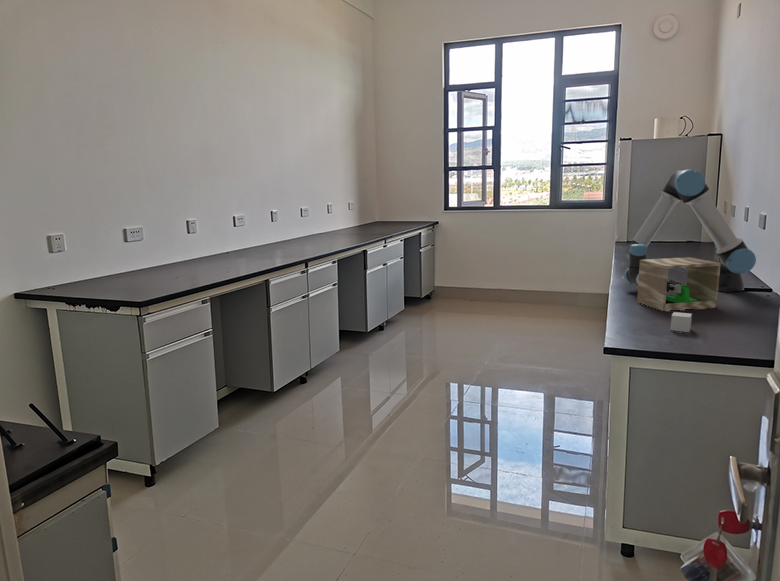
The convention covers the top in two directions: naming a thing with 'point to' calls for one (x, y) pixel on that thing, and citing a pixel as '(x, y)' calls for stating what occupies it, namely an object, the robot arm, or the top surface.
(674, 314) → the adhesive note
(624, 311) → the top surface
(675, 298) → the mechanical part
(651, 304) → the cubby box
